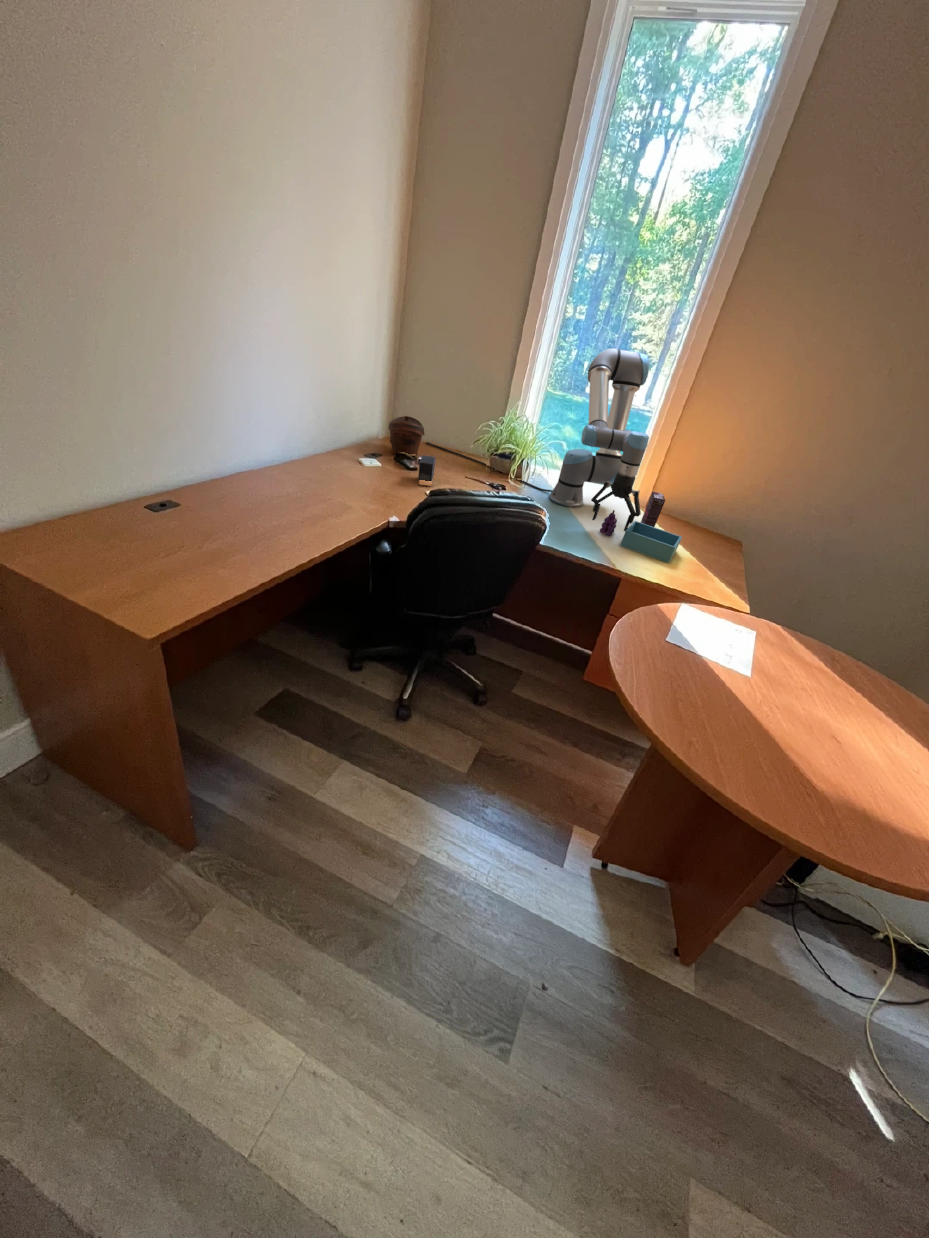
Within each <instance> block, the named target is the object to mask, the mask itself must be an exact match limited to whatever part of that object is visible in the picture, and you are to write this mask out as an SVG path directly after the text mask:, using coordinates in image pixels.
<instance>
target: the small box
mask: <svg viewBox="0 0 929 1238" xmlns="http://www.w3.org/2000/svg"><path fill="white" fill-rule="evenodd" d="M435 467H436V456H430V455H421V459H420V461H419V465H418V475H417V481H418V480H425V481H432V479H433V476H434V477H435V469H436V468H435ZM433 480H434V479H433Z"/></svg>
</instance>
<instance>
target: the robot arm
mask: <svg viewBox="0 0 929 1238" xmlns="http://www.w3.org/2000/svg"><path fill="white" fill-rule="evenodd" d="M649 373H650V359H649V357H648V355H646V354H645V353H641V352H638V351H630V350H624V349H618V348H607V349H604V350H602V351H601V352H599V353H598V354H597V355H596V356H595V357H594V358H593V359H592V361H591V363H590V365H589V367H588V370H587V381H588V382H589V393H588V395H589V398H588V420H587V421H588V422H587V424H586V425H585V426H584V427H583V428H582V429H583V430H582V432H581V439H580V441H581V444H582V445H584V446H588V447H591V448H598V450H596V451H595V455H593V451H591V450H588V449H585V448H584V449H583V448H572V449H569V450H567V451H566V452H565V454H564V457H563V460H562V465H561V469H560V472H559V476H558V479H557V482H556V484H555V486H554V487H553V488H552V489H545V488H541V487H539V486H536V485H534V484H531V483H529V482H527V481H525V480H523V479H521V480H518V481H519V482H521V483H523V484H524V485H527V486H530V487H531V488H534V489H536V490H539V491H541V492H547V493H550V495H549V499H550V500H551V501H552V502H553V503H555V504H558V505H559V506H560V505H561V506H563V507H569V508H578V507H581V506H582V505H583V501H584V492H583V491H584V488H583V487H584V486H585V485H584V484H585V483H591V484H596V485H597V484H598V485H603V486H602V487H601V488H600V489H599V491H598V492H597V493H596V494H594V496H593V497H592V498H591V499H590V501H591V502H592V503H593V504H594V505H593V509H592V512H593V516H592V521H595V520H596V519H597V516H598V514H599V511H600V507H601V502H603V501H605V500H607V499H608V498H609V497H611V496H614V497H615V498H619V499H623V500H624V502H625V503H626V507H627V509H628V511H629V515H628V517H627V520H626V523H625V525H624V528H623V532H625V531H626V530H627V529H628V527H629V526H630V525H631V524H632V523H633V522H634V521H635V520H634V519H635V517H639V516H641V514H642V512H641V503H640V497H639V496H640V489H637V490H635V489H633V488H634V487H633V486H634V484H635V481H636V479H637V478H636V477H637V475H638V472H639V470H640V467H641V464H642V460H643V458H644V455H645V452H646V451H647V450H646V449H647V448H648V443H649V440H650V436H649V435H648V434H647V433H645V432H640V431H636V430H631V429H627V425H628V421H629V417H630V413H631V409H632V405H633V401H634V397H635V393H637V392H638V391H639V390H640V388H641V386H644V385H645V384H646V382H647V379H648V377H649ZM610 381H612V383H611V387H612V388H613V394H612V398H611V403H610V406H609V390H610V388H609V385H610ZM425 444H427V445H430V446H432V447H434V448H438V449H440V450H443V451H446V452H448V453H450V454H454V455H457V456H460V457H461V458H465V459H468V460H470V461H473V462H476V463H479V464H481V465H484V466H486V464H487V463H486V462H482V461H481V460H478V459H476V458H473V457H470V456H467V455H465V454H461V453H459V452H457V451H454V450H451V449H448V448H445V447H442V446H439V445H436V444H434V443H431V442H428V441H426V442H425ZM621 452H622V453H621ZM485 463H486V464H485ZM522 480H523V481H522ZM608 488H610V489H611V491H609V492H608V493H606V494H605V495H603V496H602V497H600V496H601V495H602V494H603V492H605V491H606V489H608ZM631 494H632V496H633V502H634V504H633V503H632V500H631V496H630V495H631ZM599 497H600V498H599ZM598 498H599V499H598Z"/></svg>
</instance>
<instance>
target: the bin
mask: <svg viewBox="0 0 929 1238" xmlns="http://www.w3.org/2000/svg"><path fill="white" fill-rule="evenodd" d="M682 539H683V536H681V535H678V534H675V533H672V532H669V531H666V530H663V529H661V528H659V527H656V526H655V527H652V526H649V525H646V524H643V523H641V521H640V522H639V521H638V520H633V522H632V523H631V524H629V526H628V529H627V530H626V531H624V534H623V537H622V540H621V543H620V547H623V548H626V549H629V550H631V551H633V552H637V553H640V554H643V555H644V556H648V557H651V558H653V559H656V560H658V561H661V562H664V563H666V564H669V563H670V561H671V560H672V559H673V557H674V555H675V554H676V552H677V549H678V547H679V546H680V543H681V540H682Z"/></svg>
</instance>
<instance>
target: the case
mask: <svg viewBox="0 0 929 1238" xmlns="http://www.w3.org/2000/svg"><path fill="white" fill-rule="evenodd" d="M388 431H389V436H390V437H388V438H387V440H389V443H390V445H391V452H392V454H393V455H394V453H395V452H398V451H399V452H405V453H408V454H416V456H417V455H418V451H419V448H420V444H421V441H422V438H423V436H425V428H424V425H423V424H422V423H421V421H420V420H418V419H417V418H415V417H412V416H408V415H403V416H399V417H396V418H393V419H392V420H390V421H389V423H388Z"/></svg>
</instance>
